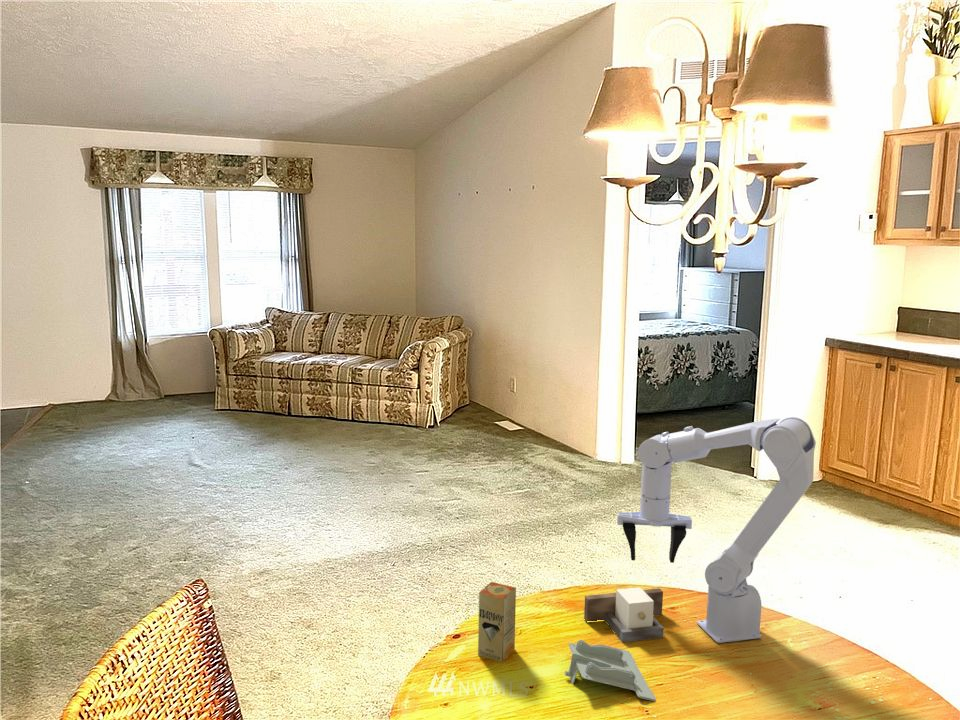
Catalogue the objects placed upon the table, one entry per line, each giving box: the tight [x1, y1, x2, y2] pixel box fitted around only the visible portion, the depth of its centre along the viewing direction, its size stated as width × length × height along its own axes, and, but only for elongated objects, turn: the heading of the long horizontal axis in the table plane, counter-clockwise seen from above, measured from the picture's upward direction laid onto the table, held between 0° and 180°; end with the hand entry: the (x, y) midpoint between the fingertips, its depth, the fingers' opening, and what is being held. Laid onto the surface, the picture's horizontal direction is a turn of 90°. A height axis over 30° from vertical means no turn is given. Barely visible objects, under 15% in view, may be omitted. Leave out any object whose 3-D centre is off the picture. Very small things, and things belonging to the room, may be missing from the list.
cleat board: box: [583, 587, 665, 643], centre depth 149 cm, size 16×10×5 cm, turn 103°
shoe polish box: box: [477, 581, 517, 663], centre depth 139 cm, size 5×5×12 cm
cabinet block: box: [615, 586, 654, 629], centre depth 148 cm, size 5×7×7 cm
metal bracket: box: [564, 639, 657, 702], centre depth 132 cm, size 14×6×15 cm
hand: (652, 559), depth 156 cm, fingers open, 7 cm apart
